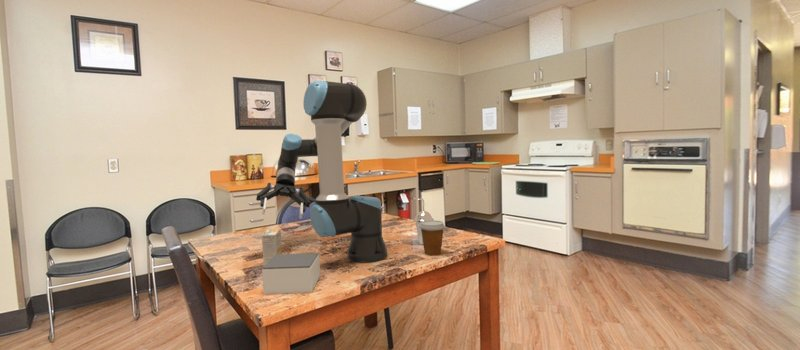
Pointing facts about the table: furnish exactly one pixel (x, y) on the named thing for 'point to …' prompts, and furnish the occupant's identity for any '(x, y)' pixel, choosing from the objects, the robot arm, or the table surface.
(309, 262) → the riser block
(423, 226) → the disposable coffee cup
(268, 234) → the supplement box
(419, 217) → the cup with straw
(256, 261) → the table surface
